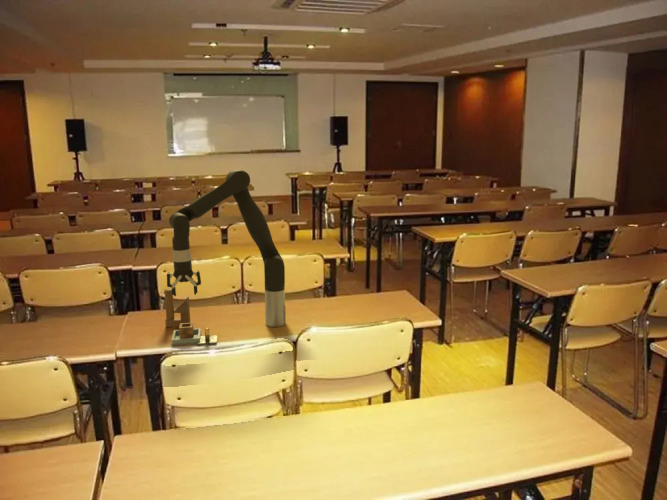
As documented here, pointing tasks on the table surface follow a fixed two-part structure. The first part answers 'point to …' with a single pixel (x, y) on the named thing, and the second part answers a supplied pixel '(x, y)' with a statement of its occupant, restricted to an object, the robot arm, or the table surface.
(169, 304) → the brown upright angular piece
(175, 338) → the tray
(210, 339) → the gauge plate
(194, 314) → the table surface
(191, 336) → the bored block
